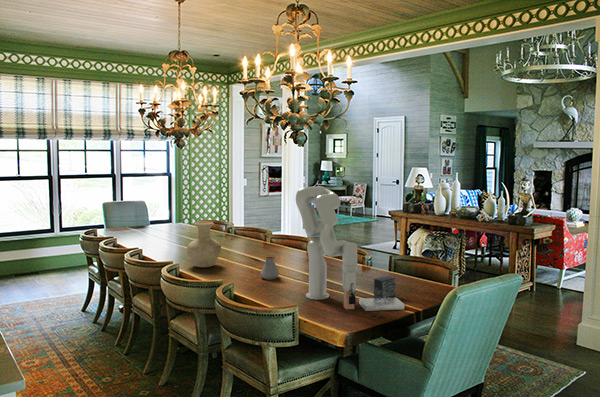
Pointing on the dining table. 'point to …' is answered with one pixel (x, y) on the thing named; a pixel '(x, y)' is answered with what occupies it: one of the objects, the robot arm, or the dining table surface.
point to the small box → (384, 287)
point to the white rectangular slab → (381, 304)
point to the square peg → (347, 301)
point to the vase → (204, 247)
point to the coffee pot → (268, 268)
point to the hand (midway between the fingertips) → (349, 301)
